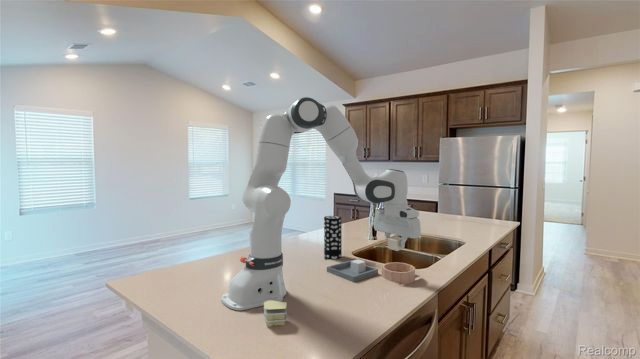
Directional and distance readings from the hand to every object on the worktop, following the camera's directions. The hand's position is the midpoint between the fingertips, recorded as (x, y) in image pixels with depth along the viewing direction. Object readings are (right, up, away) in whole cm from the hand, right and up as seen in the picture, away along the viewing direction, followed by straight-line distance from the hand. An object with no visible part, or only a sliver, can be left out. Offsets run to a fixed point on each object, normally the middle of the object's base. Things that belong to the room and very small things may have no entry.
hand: (395, 245), depth 130 cm
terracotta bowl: (+1, -14, +2) cm, 14 cm away
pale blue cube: (-14, -12, +9) cm, 21 cm away
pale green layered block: (-43, -16, -33) cm, 57 cm away
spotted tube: (-24, -12, +29) cm, 39 cm away
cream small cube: (0, -1, 0) cm, 1 cm away
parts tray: (-17, -13, +7) cm, 22 cm away
